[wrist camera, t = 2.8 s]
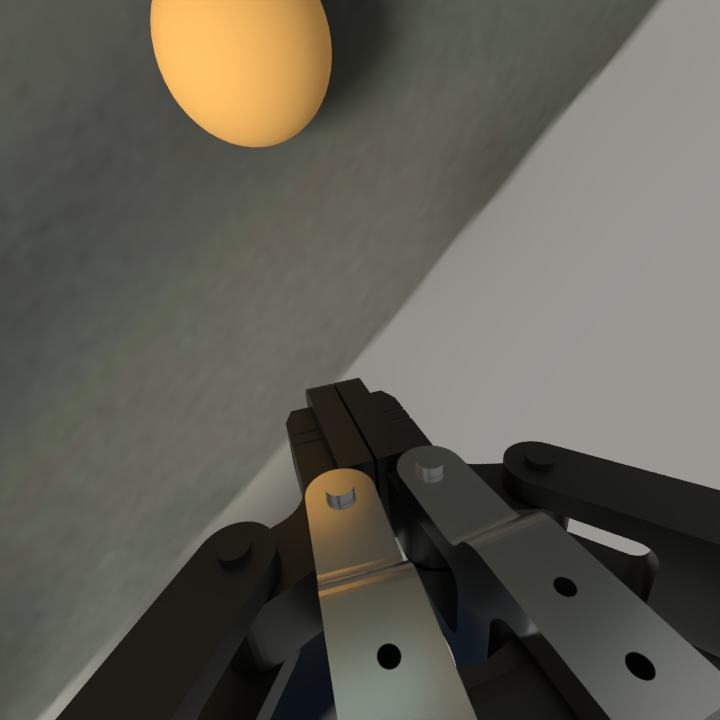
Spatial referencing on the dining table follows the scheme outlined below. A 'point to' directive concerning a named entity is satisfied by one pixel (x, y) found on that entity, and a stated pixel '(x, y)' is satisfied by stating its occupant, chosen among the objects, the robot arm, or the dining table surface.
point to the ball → (244, 64)
